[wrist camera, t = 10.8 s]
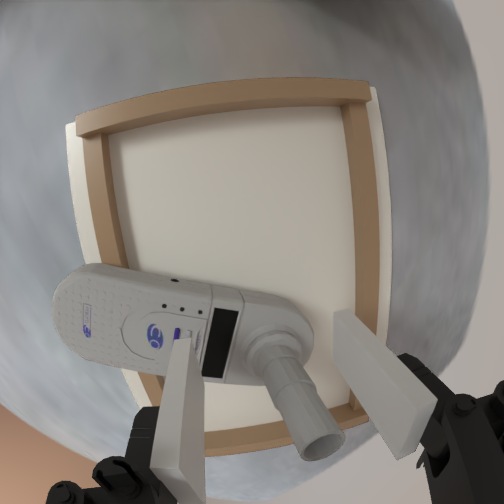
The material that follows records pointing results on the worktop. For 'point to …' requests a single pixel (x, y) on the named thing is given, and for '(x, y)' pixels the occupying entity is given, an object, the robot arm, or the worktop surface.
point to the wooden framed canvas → (245, 217)
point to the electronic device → (199, 339)
